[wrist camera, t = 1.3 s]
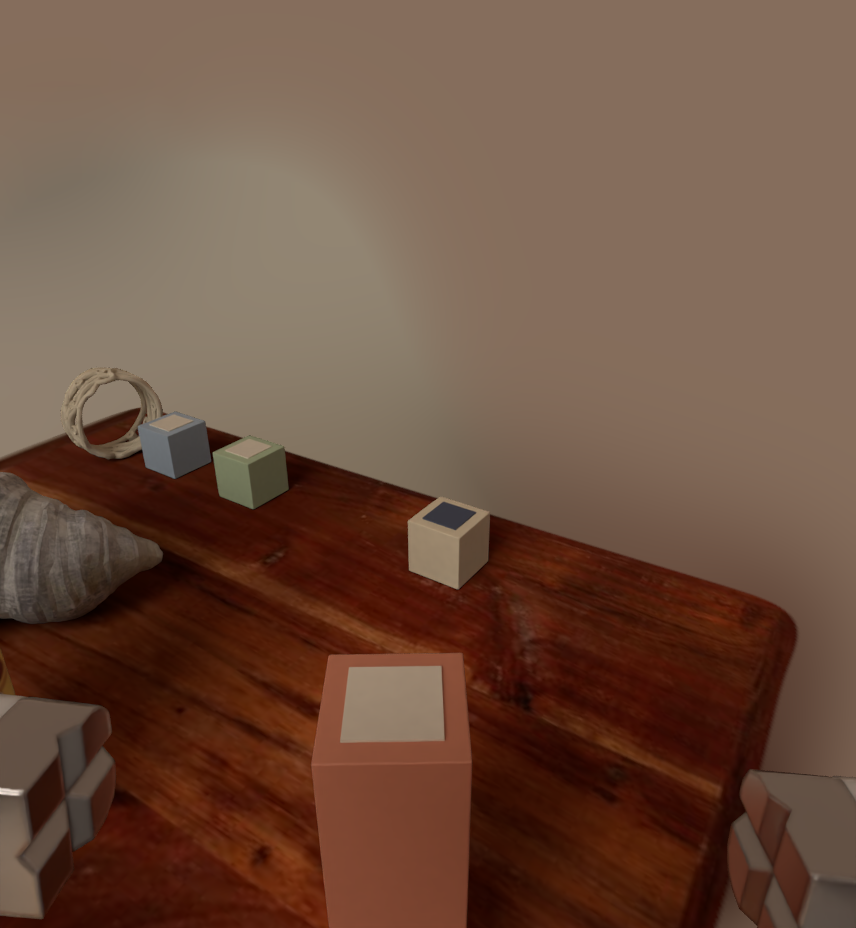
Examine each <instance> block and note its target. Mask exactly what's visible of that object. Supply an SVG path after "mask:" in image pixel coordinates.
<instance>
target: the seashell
mask: <svg viewBox="0 0 856 928" xmlns="http://www.w3.org/2000/svg"><path fill="white" fill-rule="evenodd" d="M162 556H163V552H162V551H161V550H160V549H159V546H158V544H156V543H155V542H153V541H151V540H148V539H144V538H141V537H138V536H136V535H134V534H132V533H131V532H130V531H129V530H127V529H126V528H123V527H119V526H116V525H113V524H112V523H111V522H110V521H108V520H107V519H105V518H103V517H100V516H95V515H94V514H92V513H90V512H88V511H86V510H78V511H74V510H72V509H70V508H69V507H68V506H67V505H64V504H63V503H61V502H60V501H59V500H56V499H52V498H48V497H45V496H42V495H40V494H38V493H37V492H35V491H33V490H31V489H30V488H29V487H28V486H27V484H26V483H25V482H24V481H23V480H22V479H21V478H19V477H18V476H16V475H14V474H11V473H5V472H0V619H7V618H13V619H15V620H17V621H21V622H25V623H29V624H37V623H47V622H61V621H67V620H72V619H75V618H78V617H81V616H84V615H85V614H87V613H89V612H90V611H92V610H93V609H95V608H96V607H97V605H98V604H100V603H101V602H103V601H104V600H106V598H107V597H108V596H109V595H110V594H112V593H114V591H115V590H116V589H117V587H119V586H120V585H121V584H123V583H124V582H126V581H127V580H129V579H130V578H132V577H133V576H134V575H136V574H137V573H139V572H141V571H145V570H149V569H151V568H153V567H154V566H156V565H157V564H159V563H160V562H162Z"/></svg>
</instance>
